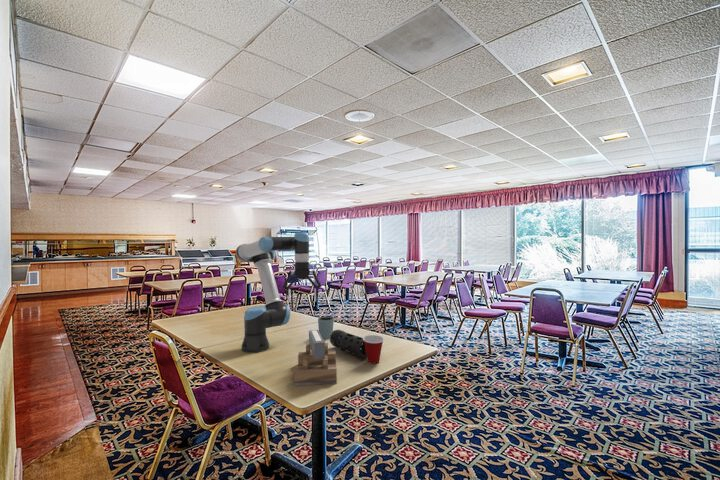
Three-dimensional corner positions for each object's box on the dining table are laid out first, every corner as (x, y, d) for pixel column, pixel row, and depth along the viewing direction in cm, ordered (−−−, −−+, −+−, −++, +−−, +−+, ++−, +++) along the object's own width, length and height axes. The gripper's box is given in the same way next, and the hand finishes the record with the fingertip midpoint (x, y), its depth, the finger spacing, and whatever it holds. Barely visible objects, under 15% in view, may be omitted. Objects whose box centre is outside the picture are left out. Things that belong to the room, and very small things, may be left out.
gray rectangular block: (314, 359, 149) (314, 342, 149) (309, 344, 170) (308, 329, 170) (324, 358, 150) (324, 341, 150) (318, 344, 171) (318, 329, 171)
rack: (336, 383, 148) (336, 359, 148) (294, 385, 147) (293, 361, 147) (335, 362, 174) (335, 342, 174) (299, 363, 172) (299, 343, 172)
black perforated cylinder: (359, 361, 175) (358, 341, 175) (328, 348, 197) (327, 330, 197) (373, 357, 181) (373, 337, 181) (341, 345, 203) (341, 327, 203)
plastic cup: (368, 367, 167) (368, 342, 167) (359, 360, 177) (359, 336, 177) (388, 363, 171) (388, 339, 171) (378, 357, 181) (378, 333, 181)
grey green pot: (320, 334, 225) (320, 316, 225) (335, 335, 224) (335, 316, 224) (316, 339, 215) (316, 320, 215) (332, 339, 214) (332, 320, 214)
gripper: (277, 262, 181) (277, 303, 181) (325, 261, 183) (325, 301, 183) (279, 261, 188) (279, 300, 188) (325, 260, 190) (326, 299, 190)
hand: (302, 301), depth 186 cm, fingers open, 13 cm apart
